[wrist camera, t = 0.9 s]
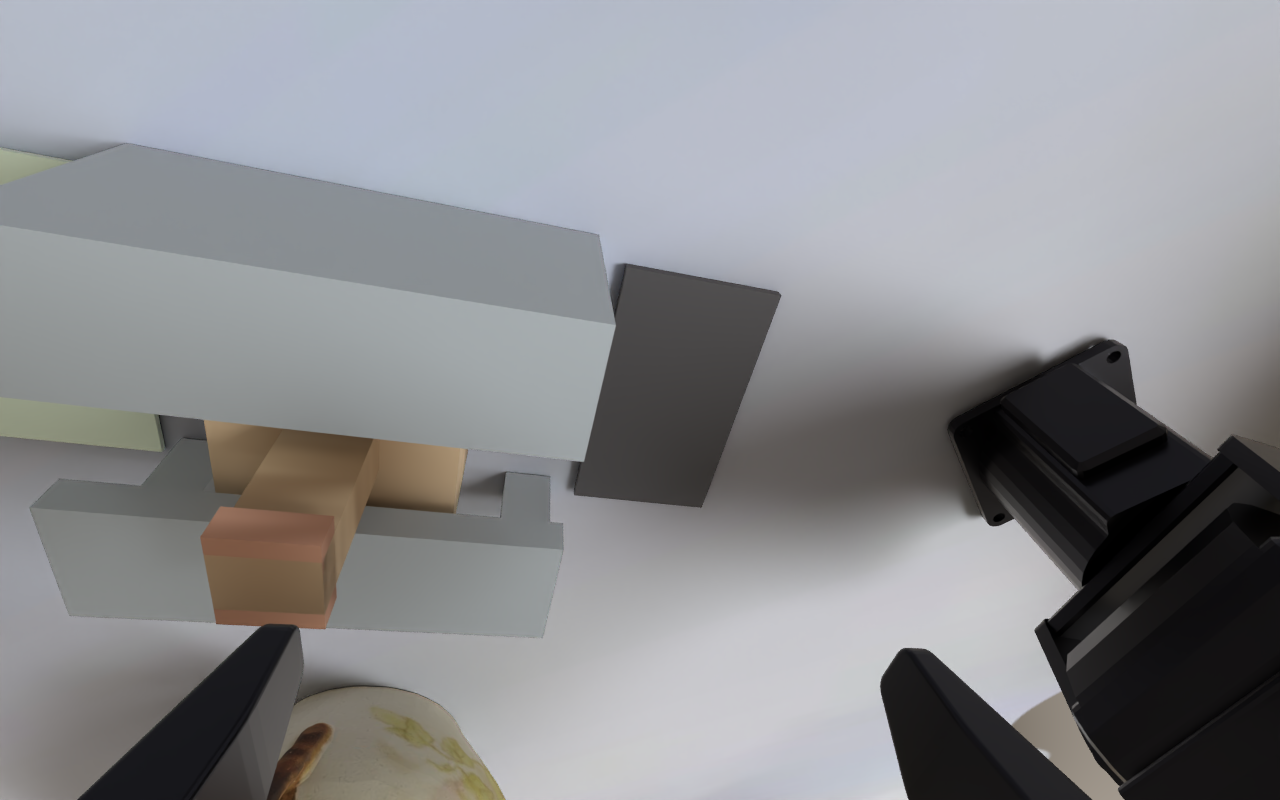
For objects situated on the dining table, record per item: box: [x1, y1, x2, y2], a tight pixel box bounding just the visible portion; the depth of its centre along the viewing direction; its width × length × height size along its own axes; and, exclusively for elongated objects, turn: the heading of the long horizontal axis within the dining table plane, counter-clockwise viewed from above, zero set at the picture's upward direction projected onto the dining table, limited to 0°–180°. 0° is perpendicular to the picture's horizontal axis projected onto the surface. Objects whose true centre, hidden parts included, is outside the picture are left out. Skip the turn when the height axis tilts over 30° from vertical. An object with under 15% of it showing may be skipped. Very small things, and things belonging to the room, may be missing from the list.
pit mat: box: [574, 264, 781, 508], centre depth 21 cm, size 5×9×1 cm, turn 167°
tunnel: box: [0, 143, 616, 638], centre depth 17 cm, size 12×10×6 cm
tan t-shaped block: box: [200, 420, 468, 629], centre depth 15 cm, size 6×6×9 cm
